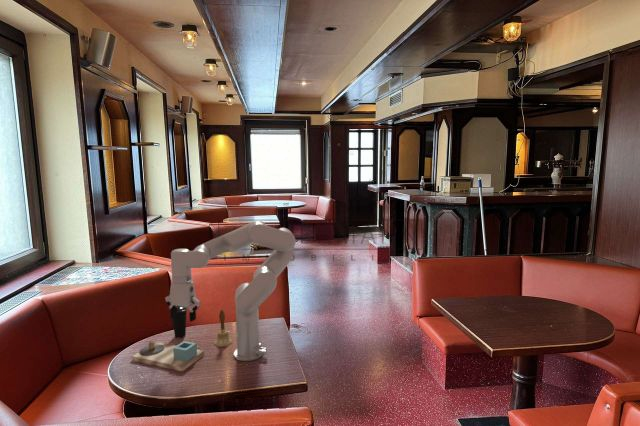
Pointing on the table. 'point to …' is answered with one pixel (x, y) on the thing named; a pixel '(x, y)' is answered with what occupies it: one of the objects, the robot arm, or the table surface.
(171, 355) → the base board
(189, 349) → the collar
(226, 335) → the hand bell
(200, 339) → the table surface
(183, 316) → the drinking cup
